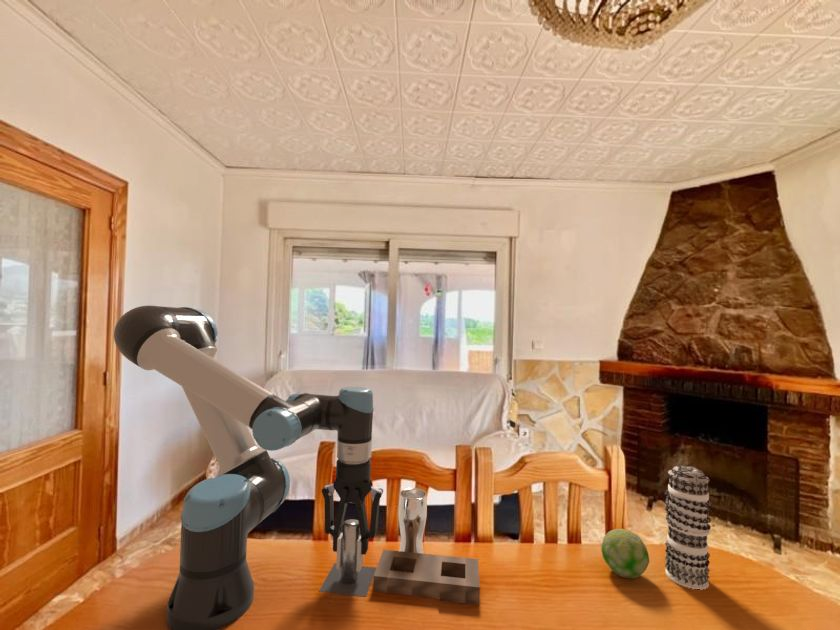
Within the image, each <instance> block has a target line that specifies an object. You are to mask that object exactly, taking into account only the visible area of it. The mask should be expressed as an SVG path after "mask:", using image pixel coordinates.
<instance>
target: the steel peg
mask: <svg viewBox="0 0 840 630" xmlns="http://www.w3.org/2000/svg"><path fill="white" fill-rule="evenodd" d="M342 533H343V538H342V563H341V582H342V583H344V584H353V583H355V582H356V581H357V579H358V572H356V566H357V541H358V539H359V537H360V528H359V521H358V519H352V518H351V519H350V518H349V519H347V520H344V521H343V525H342Z"/></svg>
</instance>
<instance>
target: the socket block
mask: <svg viewBox="0 0 840 630" xmlns="http://www.w3.org/2000/svg"><path fill="white" fill-rule="evenodd" d="M375 568H376V571H375V573H374V577H373V579H372V582H373V583H372V586H373V587H372V591H373V592H376V593H377V592H378V593H386V594H392V595H394V594H395V595H404V596H412V597H420V598H429V599H439V601H442V602H450V603H451V602H452V603H459V604H468V605H477V606H479V605H480V593H481V592H480V590H481V586H480V569H479V568H480V566H479V558H473V557H472V558H469V557H462V556H461V557H460V556H452V555H441V554H432V553H431V554H430V553H424V552H423V553H413V552H403V551H399V550H393V549H392V550H389V549H383V550H382V552H381V554H380V557H379V560H378V563H377V566H376V567H375Z"/></svg>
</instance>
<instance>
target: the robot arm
mask: <svg viewBox="0 0 840 630" xmlns="http://www.w3.org/2000/svg"><path fill="white" fill-rule="evenodd" d="M218 333H219V332H218V327H217V324H216V323H215V321H214V320H213V318H212V317H211V316H210V315H209V314H208V313H206V312H205V311H203V310H200V309H197V308H193V307H189V306H188V307H186V306H184V307H183V306H182V307H176V306H175V307H173V306H172V307H171V306H162V305H161V306H157V305H148V304H147V305H142V306H137V307H135V308H131V309H130V310H128V311H126V312H125V313H124V314H123V315H122V316H120V318H119V319H118V321H117V322H116V324H115V326H114V330H113V340H114V344H115V347H117V350H118V351H119V352H120V354H121V355H122V356H123V357H124V358H125V359H126V360H128V361H130V362H131V363H132V364H134V365H136V366H137V367H139V368H140V369H142V370H145V371H152V370H155V371H157V372H158V373H159V374H161V375H163V376H164V377H165V378H168V379H169V380H171V381H172V382H175V383H176V384H178V385H179V386H181V387H182V390H183V392H184V394H185V396H186V399H187V400H188V402H189V404H190V405H189V406H191V408H192V410H193V414H194V415H195V417H196V419H197V422H198V424H199V426H200V428H201V430H202V432H203V434H204V436H205V438H206V440H207V442H208V445H209V447H210V449H211V451H212V453H213V456H214V457H215V460H216V461H217V463H218V465H219V467H218V470H217V472H216V476H215V477H209V478H205V479H204V480H202V481H200V482H198V483H196V484H195V485H193V487H191V488H190V489H189V491H187V493H186V494H185V496H184V499H183V504H182V510H181V514H180V522H181V525H180V526H181V529H180V548H179V549H180V554H179V557H180V558H179V572H178V575H177V579H176V580H175V583H174V586H173V587H172V592H171V593H170V597H169V598H168V601H167V604H166V605H167V606H166V614H165V615H166V616H165V619H166V624H167V627H169V628H170V630H220V629H223V628H224V627H226V626H229V625H230V624H232V623H234V622H235V621H237V620H238V619H240V618H241V617H242V616H244V615H245V613H247V611H248V610H249V609H250V608H251V606H252V604H253V601H254V597H255V583H254V580H253V578H252V574H251V570H250V568H249V565H248V564H249V563H248V561H247V546H248V535H249V533H250V532H251V531H252V530H254V528H256V527H257V526H258V525H259V524H260V523H261V522H263V520H265V519H266V518H267V517H268V516H271V514H273V513H275V512H276V511H277V510H278V509H279V508H280V506H281V505H282V504H283V503H284V502H285V500H286V498H287V497H288V494H289V491H290V487H291V478H290V474H289V470H288V469H287V467H286V466H285V464H284V463H283V462H282V461H280V460H278V459H276V458H273V457H271V456H270V455H269V452H268V451H270V452H272V451H273V452H274V451H279V450H282V449H284V448H286V447H289V446H291V445H293V444H294V443H295V442H296V441H298V440H299V439H301V438H302V437H305V436H306V435H308V434H311V433H312V432H314V431H316V430H322V431H323V430H324V431H332V432H333V431H336V432H337V434H336V435H337V440H336V441H337V442H336V443H337V444H336V445H337V446H336V458H337V459H336V465H335V466H336V468H335V480H334V482H333V483H331V484H330V483H327V484H326V485H325V486H324V487H323V488H322V489H321V493H322V496H323V499H324V534H326V535H331V536H332V538H333V539H332V540H333V541H332V551H333V552H334V553H336V562H335V563H336V569H337V570H340V568H341V563H342V538H343V532H342V531H343V522H344V521H345V516H346V511H347V507H348V504H350V503H352V504H354V506H355V509H356V513H357V520H358V521H359V528H360V529H359V539H358V541H357V566H356V572H360V570H361V568H362V566H364V555H365V556H366V554H367V553H368V550H369V539H374V538H375V537H376V535H377V532H378V525H379V515H380V514H379V513H380V503H381V502H380V501H381V498H382V497H383V496H382V495H383V493H384V489H383V488H380V487H379V488H377V487H375V486H373V483H372V480H371V472H372V460H371V459H370V458H372V445H373V444H372V443H373V442H372V441H373V436H372V435H373V434H372V433H373V418H374V411H375V410H374V393H373V390H371V389H370V388H368V387H363V386H346V387H345V386H344V387H343V388H341V389H340V390H339V393H338V395H328V394H327V395H325V394H317V393H316V394H315V393H308V392H303V393H292V394H291V395H289V397H288V399H286V400H284V399H282V398H281V397H279V396H277V395H275V394H274V393H272V392H270V391H269V390H267V389H265V388H263V386H261V385H259V384H257V383H255V382H254V381H252V380H250V379H249V378H247V377H245V376H243V375H242V374H240V373H238V372H237V371H235V370H234V369H232V368H230V367H228V366H226V364H224V363H222V362H220V361H219V360H216V359H215V356H216V354H217V352H218V348H217V346H216V343H217V340H218V339H217V337H218V335H219V334H218ZM250 430H252V434H251V432H250ZM335 492H336V494H337V496H338V497H339V498H340V499H339V503H338V509H337V512H336V513H337V514H336V518H335V520H334V515H335V514H334V513H335V512H334V507H335V506H334V504H335V503H334V494H335ZM369 493H370V494H371V495H370V497H371V499H372V503H371V511H370V524H369V523H368V515H367V508H366V497H367V496H368V495H369ZM334 522H335V523H334Z"/></svg>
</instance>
